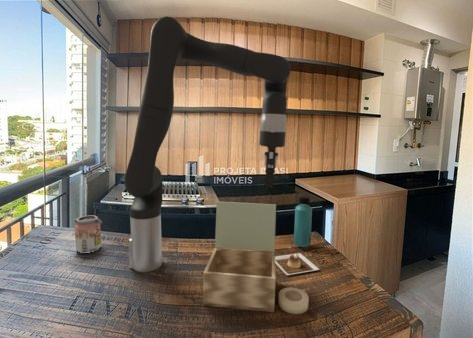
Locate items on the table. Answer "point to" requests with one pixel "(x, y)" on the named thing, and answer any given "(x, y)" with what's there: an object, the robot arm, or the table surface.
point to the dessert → (295, 262)
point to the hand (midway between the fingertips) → (269, 183)
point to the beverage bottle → (303, 223)
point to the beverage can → (88, 233)
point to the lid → (245, 226)
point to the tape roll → (293, 300)
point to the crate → (240, 280)
